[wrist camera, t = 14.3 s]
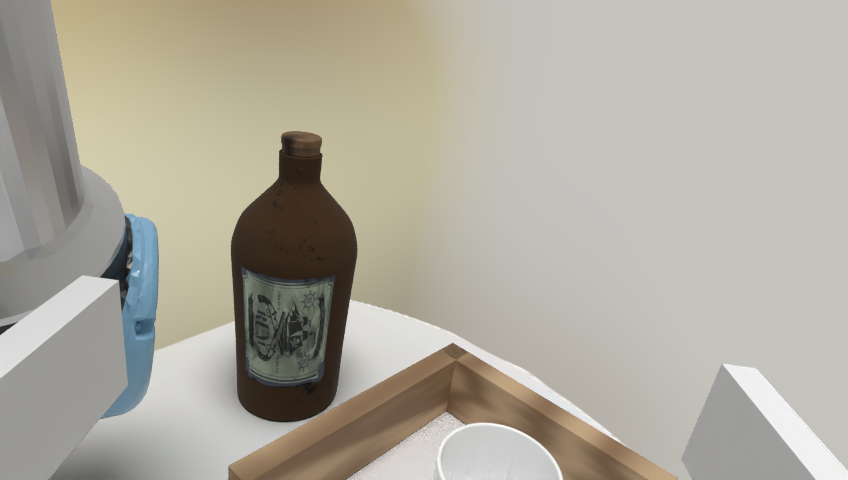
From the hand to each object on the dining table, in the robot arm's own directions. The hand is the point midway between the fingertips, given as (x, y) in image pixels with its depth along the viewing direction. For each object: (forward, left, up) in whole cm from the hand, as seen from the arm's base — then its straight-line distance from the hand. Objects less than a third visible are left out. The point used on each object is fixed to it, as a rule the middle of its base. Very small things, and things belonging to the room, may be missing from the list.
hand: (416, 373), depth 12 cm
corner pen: (-8, +18, -28) cm, 34 cm away
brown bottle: (-29, +18, -28) cm, 44 cm away
